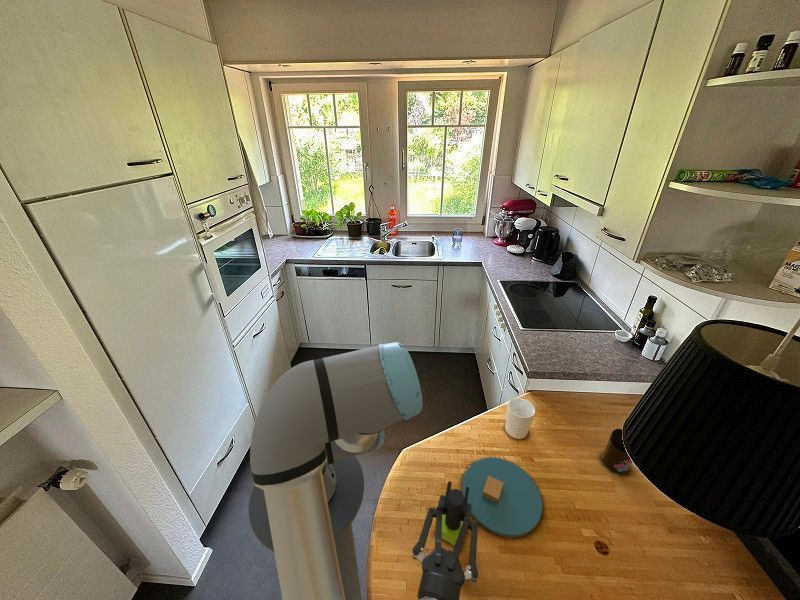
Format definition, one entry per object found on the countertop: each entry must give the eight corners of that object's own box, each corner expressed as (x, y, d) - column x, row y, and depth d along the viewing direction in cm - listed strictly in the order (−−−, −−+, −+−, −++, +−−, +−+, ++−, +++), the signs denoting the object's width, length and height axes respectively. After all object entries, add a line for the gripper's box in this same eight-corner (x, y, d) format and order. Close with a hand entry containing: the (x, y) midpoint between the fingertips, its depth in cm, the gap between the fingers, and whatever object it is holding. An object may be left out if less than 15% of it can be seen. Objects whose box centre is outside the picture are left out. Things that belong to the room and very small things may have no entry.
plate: (450, 509, 81) (450, 507, 81) (475, 449, 96) (475, 446, 96) (533, 555, 72) (534, 553, 72) (546, 481, 88) (547, 478, 87)
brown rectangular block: (481, 496, 83) (482, 491, 82) (487, 479, 87) (488, 475, 86) (497, 504, 81) (498, 499, 80) (502, 487, 85) (503, 482, 84)
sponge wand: (435, 534, 76) (437, 502, 70) (445, 511, 81) (448, 479, 75) (459, 548, 74) (464, 516, 67) (468, 524, 78) (473, 491, 72)
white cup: (499, 432, 102) (503, 409, 97) (508, 416, 107) (513, 394, 103) (524, 445, 98) (530, 422, 93) (532, 428, 103) (538, 405, 98)
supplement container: (605, 472, 90) (617, 447, 85) (597, 451, 95) (608, 427, 91) (632, 476, 88) (646, 451, 84) (622, 455, 94) (634, 430, 89)
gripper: (393, 598, 63) (424, 486, 82) (480, 636, 58) (491, 508, 77) (392, 579, 59) (425, 467, 79) (485, 619, 54) (495, 489, 74)
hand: (458, 487), depth 78 cm, fingers closed on sponge wand, 4 cm apart
